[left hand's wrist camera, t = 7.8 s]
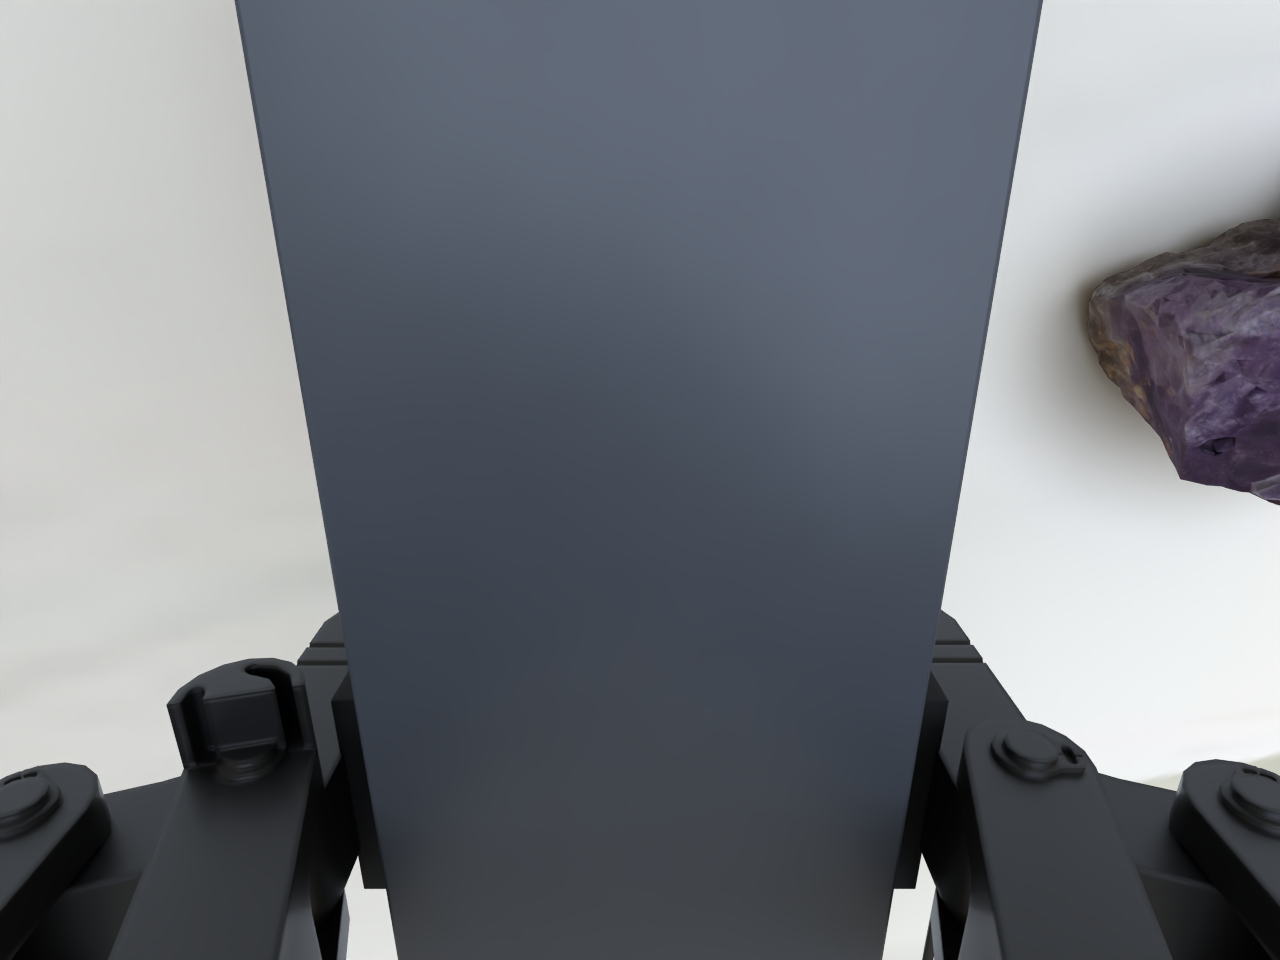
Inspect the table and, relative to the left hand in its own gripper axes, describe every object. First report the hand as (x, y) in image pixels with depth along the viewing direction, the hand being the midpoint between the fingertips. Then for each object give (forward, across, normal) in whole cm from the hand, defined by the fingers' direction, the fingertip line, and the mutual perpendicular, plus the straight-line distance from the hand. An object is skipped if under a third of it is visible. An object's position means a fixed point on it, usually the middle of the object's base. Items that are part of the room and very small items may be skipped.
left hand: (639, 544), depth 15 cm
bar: (+1, 0, -10) cm, 10 cm away
